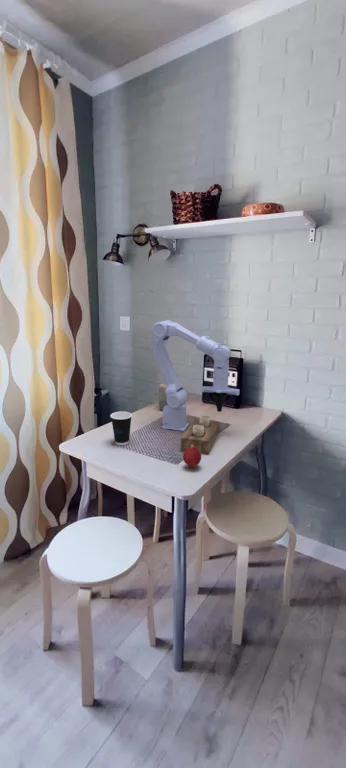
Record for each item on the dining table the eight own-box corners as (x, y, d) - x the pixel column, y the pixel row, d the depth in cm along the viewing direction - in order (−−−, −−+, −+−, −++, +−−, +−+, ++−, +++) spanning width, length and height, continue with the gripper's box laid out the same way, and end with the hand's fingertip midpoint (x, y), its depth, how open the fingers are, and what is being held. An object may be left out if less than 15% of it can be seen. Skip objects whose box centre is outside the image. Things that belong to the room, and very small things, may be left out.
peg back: (198, 429, 149) (198, 418, 148) (200, 426, 152) (200, 415, 151) (208, 430, 148) (208, 419, 146) (210, 427, 151) (210, 416, 150)
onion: (190, 461, 130) (190, 439, 128) (204, 466, 127) (205, 444, 125) (179, 467, 126) (179, 445, 124) (193, 473, 122) (194, 450, 120)
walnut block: (180, 450, 139) (181, 437, 137) (194, 430, 157) (195, 419, 156) (208, 454, 136) (208, 441, 134) (219, 433, 154) (219, 421, 153)
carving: (155, 410, 182) (155, 385, 179) (164, 405, 188) (164, 382, 185) (166, 412, 178) (166, 387, 175) (175, 408, 184) (175, 384, 181)
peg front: (191, 439, 140) (191, 427, 138) (194, 435, 143) (194, 424, 142) (202, 441, 138) (202, 429, 137) (204, 436, 142) (205, 425, 141)
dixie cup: (131, 437, 150) (130, 410, 147) (134, 445, 142) (133, 417, 140) (110, 439, 148) (109, 412, 145) (112, 448, 141) (111, 419, 138)
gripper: (200, 378, 147) (199, 412, 151) (238, 381, 143) (236, 416, 147) (204, 374, 154) (203, 406, 157) (240, 377, 149) (239, 410, 153)
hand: (219, 410), depth 152 cm, fingers closed
